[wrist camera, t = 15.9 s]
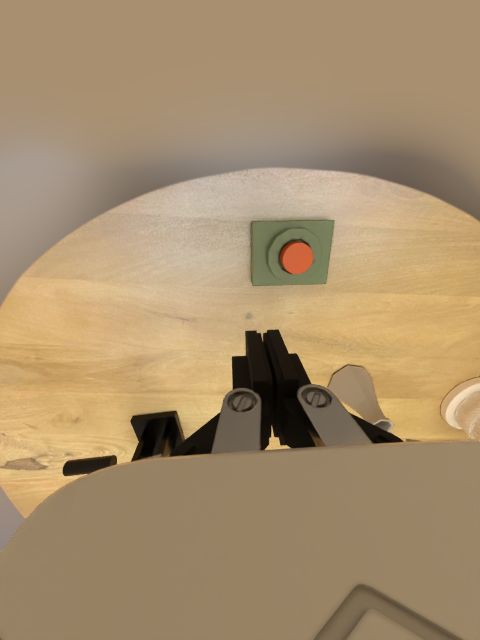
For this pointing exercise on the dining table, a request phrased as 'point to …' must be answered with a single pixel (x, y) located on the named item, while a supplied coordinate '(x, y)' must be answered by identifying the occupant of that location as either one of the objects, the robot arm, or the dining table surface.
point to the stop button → (296, 257)
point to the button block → (272, 241)
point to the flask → (359, 395)
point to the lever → (88, 465)
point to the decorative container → (464, 408)
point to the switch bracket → (156, 434)
